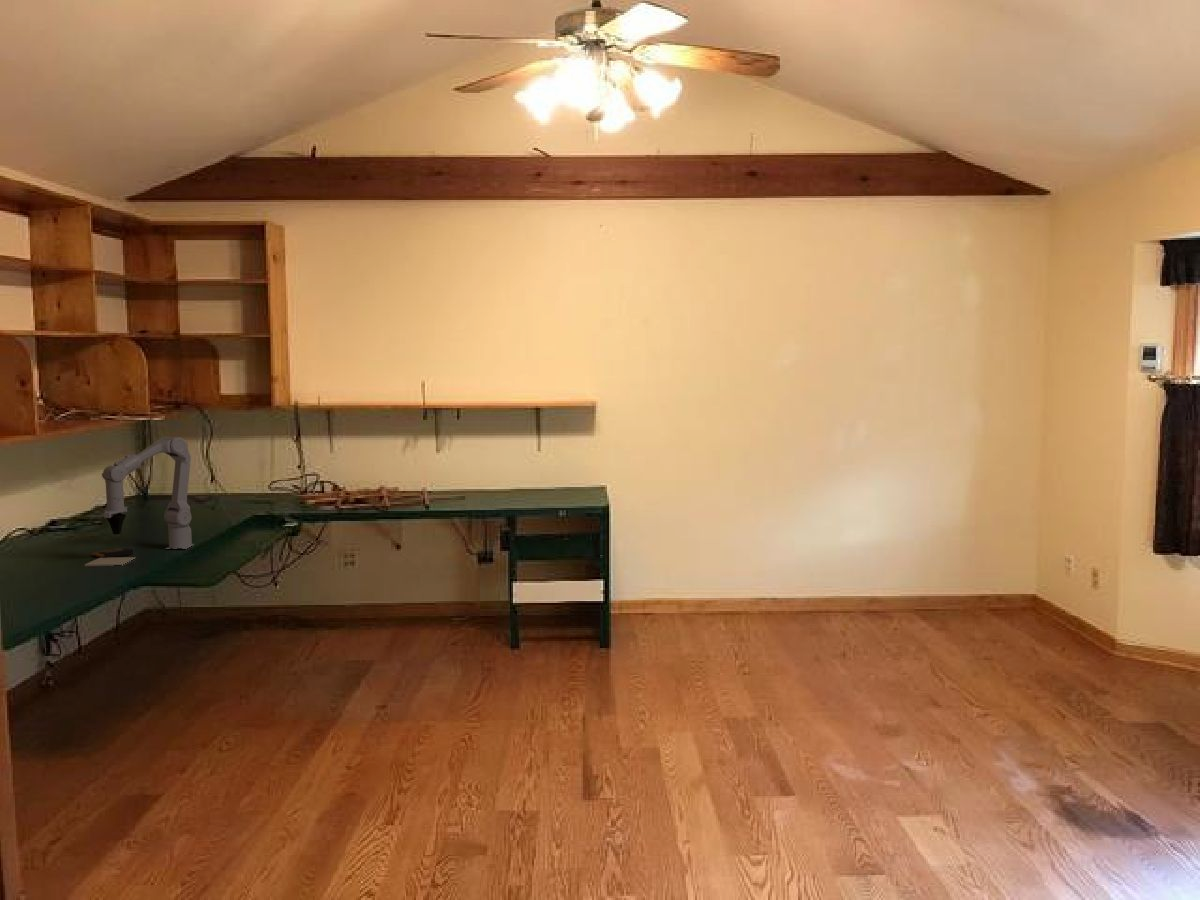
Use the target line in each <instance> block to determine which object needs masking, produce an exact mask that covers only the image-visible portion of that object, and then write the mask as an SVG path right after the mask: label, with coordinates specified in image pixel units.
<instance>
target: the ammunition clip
mask: <svg viewBox="0 0 1200 900" xmlns="http://www.w3.org/2000/svg"><path fill="white" fill-rule="evenodd" d="M91 554H92V556H95V557H98V558H113V557H122V556H123V557H124V556H129V555H134V550H133V548H116V549H110V550H103V551H97V552H92V553H91Z"/></svg>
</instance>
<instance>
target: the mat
mask: <svg viewBox="0 0 1200 900" xmlns="http://www.w3.org/2000/svg"><path fill="white" fill-rule="evenodd" d="M135 558H136V559H137V557H136V556H133V557H130V556H128V557H126V556H125V557H124V556H123V557H122V556H116V557H109V558H101V557H98V558H96V559H94V560H92V561H89V562H87V563H85V564H84V567H115V566H114V565H122V566H124V565H126V564H128V563H130V562H132V561H131V560H133V559H135ZM136 559H135V560H136ZM129 561H130V562H129ZM133 561H134V560H133ZM127 562H128V563H127ZM125 563H126V564H125ZM123 564H124V565H123Z"/></svg>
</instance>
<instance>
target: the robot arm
mask: <svg viewBox="0 0 1200 900" xmlns="http://www.w3.org/2000/svg"><path fill="white" fill-rule="evenodd" d="M161 453H163V454H166V455H168V456H170V457H171V458H172V460H174V472H173V484H172V491H171V501H170V502H169V503H168V504H167V507H166V510H165V512H164V513H163V514H164V515H163V518H164V521H165V522H166V523H167V526H168V527H167V530H168V531H167V532H168V547H166V548H165V549H170V548H173V549H177V548H182V549H186V550H187V548H188V549H190V548H191V546H192V547H194V546H195V543H193V540H192V539H193V538H192V528H191V527H190V525H189V524H190V523H191V521H192V519H193V517H192V513H191V506H190V505H189V504H188V491H189V481H190V472H191V471H190V470H191V463H192V462H191V459H192V458H191V457H192V456H191V454H190V451H189V443H188V442H187V441H186V440H185V439H184V438H183V437H173V436H163V437H161V438H159V439H157V440H156V441H155V442H153V443H152V444H151V445H149V446H147V447H146V448H144V449H142V450H141V451H140V452H138V453H137V454H134V453H133V454H126V455H125V456H124V458H122V459H120V460H119V461H115V462H114V463H113V465H107V466H106V467H105V468H104V469H103V471H102V473H101V477H102V479H103V480H104V481H105V495H106V509H103V512H104V513H103V519H106V521H107V522H108V525H109V526H110V529H111V531H112V535H120V534H121V533H122V528H123V523H124V521H125V519H126V517H127V514H126V512H127V513H128V506H125V500H124V499H125V498H124V497H125V496H124V495H125V493H124V480H125V479H126V477H127V476H128V475H129V474H131V473H132V472H134V471H136V470H138V469H140V467H141V465H142V463H143V462H145V461H147V460H149V459H150V458H153V457H154V456H156V455H157V454H161ZM193 545H194V546H193ZM189 547H190V548H189Z"/></svg>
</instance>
